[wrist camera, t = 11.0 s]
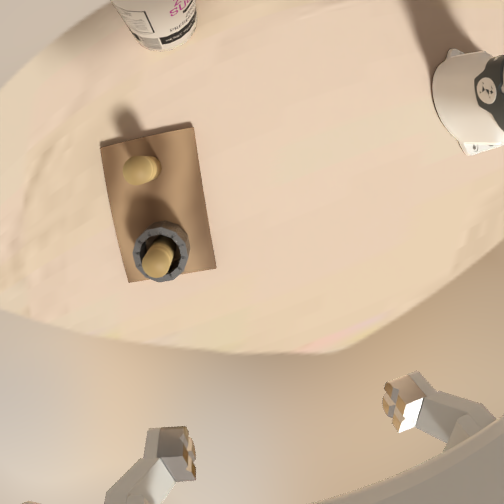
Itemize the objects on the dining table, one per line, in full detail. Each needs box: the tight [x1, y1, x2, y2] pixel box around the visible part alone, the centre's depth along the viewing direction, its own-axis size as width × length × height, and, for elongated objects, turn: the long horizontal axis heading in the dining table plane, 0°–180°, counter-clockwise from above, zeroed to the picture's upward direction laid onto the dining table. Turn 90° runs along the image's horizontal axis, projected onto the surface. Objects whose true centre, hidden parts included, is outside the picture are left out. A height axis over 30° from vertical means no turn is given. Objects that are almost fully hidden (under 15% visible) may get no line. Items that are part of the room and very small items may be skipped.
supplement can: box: [111, 0, 197, 52], centre depth 24 cm, size 8×8×15 cm
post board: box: [100, 127, 216, 283], centre depth 34 cm, size 12×18×8 cm, turn 8°
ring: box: [132, 220, 190, 282], centre depth 37 cm, size 6×6×4 cm
